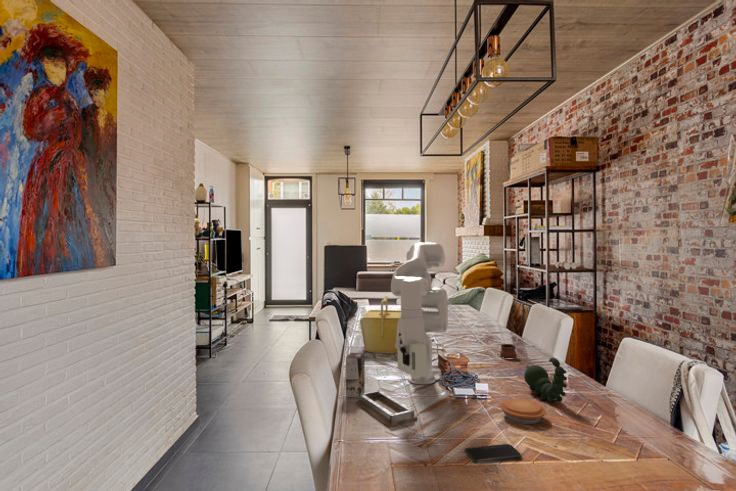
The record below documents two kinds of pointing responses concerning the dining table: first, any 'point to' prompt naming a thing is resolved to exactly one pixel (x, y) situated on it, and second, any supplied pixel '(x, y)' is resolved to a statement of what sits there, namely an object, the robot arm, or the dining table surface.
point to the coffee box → (355, 374)
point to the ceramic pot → (508, 351)
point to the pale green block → (414, 360)
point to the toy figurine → (546, 381)
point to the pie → (522, 411)
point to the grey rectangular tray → (385, 408)
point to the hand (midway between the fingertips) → (411, 363)
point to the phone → (493, 453)
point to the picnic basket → (380, 329)
